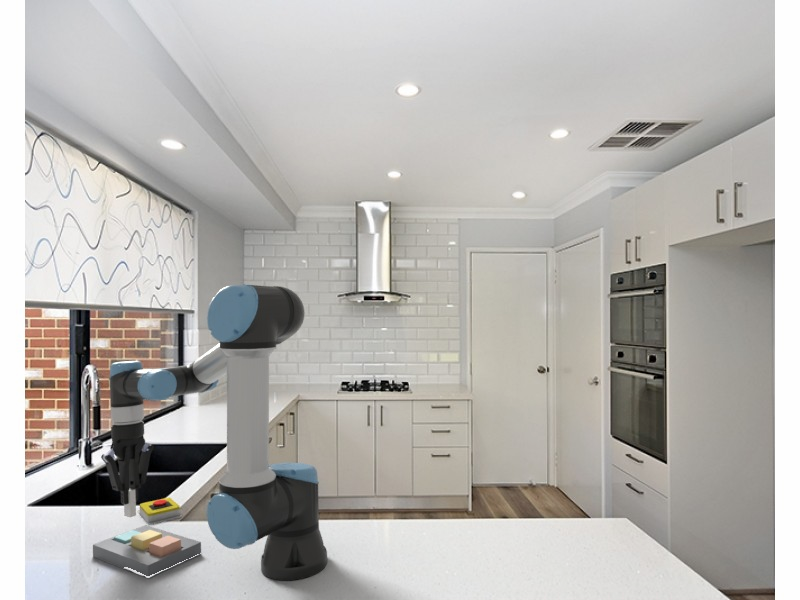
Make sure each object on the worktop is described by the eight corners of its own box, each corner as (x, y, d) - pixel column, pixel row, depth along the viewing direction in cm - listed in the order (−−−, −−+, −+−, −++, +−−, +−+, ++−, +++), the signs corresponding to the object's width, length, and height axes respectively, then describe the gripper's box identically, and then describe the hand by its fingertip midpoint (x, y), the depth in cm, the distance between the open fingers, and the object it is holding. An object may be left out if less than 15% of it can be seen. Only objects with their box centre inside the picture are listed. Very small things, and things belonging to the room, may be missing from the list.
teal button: (144, 545, 137) (144, 533, 137) (125, 553, 133) (125, 540, 133) (133, 541, 140) (133, 529, 140) (114, 548, 135) (114, 536, 135)
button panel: (201, 554, 132) (200, 542, 132) (148, 578, 120) (147, 565, 120) (145, 536, 144) (145, 525, 144) (92, 556, 132) (92, 544, 132)
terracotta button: (181, 552, 129) (180, 539, 129) (162, 560, 125) (161, 547, 125) (168, 547, 132) (168, 535, 132) (149, 555, 127) (149, 542, 127)
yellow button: (162, 545, 133) (162, 533, 133) (143, 553, 129) (143, 540, 129) (150, 541, 136) (150, 529, 136) (131, 549, 131) (131, 536, 132)
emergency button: (148, 511, 152) (136, 498, 164) (149, 526, 152) (136, 512, 164) (182, 503, 158) (168, 491, 170) (182, 518, 158) (168, 505, 170)
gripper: (143, 416, 145) (145, 505, 144) (93, 425, 134) (96, 522, 133) (159, 418, 141) (162, 509, 140) (110, 427, 130) (113, 526, 129)
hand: (130, 515), depth 136 cm, fingers closed
